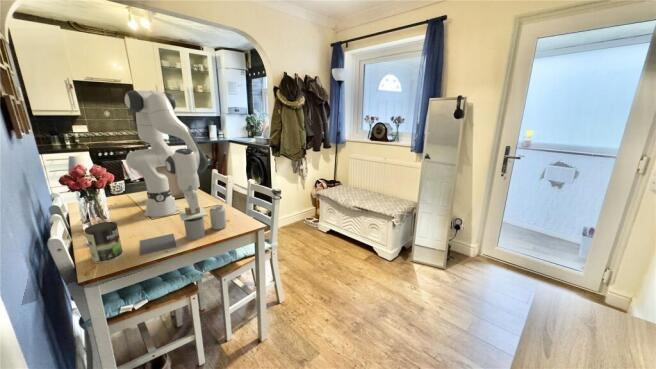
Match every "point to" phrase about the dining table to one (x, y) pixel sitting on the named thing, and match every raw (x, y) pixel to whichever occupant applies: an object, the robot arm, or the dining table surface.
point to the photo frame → (171, 182)
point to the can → (217, 217)
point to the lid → (188, 215)
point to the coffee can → (104, 241)
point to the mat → (157, 244)
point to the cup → (194, 228)
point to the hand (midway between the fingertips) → (192, 211)
